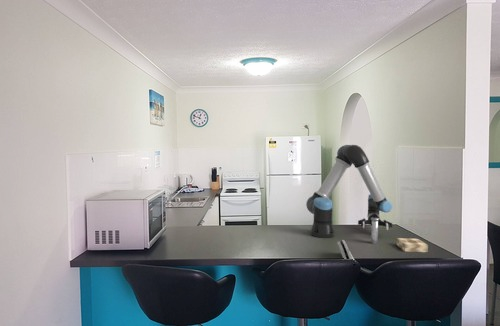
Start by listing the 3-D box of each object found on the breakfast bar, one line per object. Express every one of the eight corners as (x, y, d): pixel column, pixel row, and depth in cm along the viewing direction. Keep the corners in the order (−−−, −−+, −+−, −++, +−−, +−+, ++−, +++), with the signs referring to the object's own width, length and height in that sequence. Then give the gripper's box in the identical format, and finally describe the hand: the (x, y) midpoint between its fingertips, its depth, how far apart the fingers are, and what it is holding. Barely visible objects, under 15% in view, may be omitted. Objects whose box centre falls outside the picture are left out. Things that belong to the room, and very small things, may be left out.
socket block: (404, 251, 176) (405, 244, 176) (396, 244, 188) (396, 238, 188) (427, 252, 175) (427, 244, 175) (417, 245, 187) (418, 238, 187)
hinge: (356, 265, 155) (349, 245, 155) (347, 267, 156) (340, 248, 156) (350, 253, 172) (344, 236, 172) (341, 256, 172) (335, 238, 172)
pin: (371, 244, 189) (372, 218, 188) (369, 242, 194) (369, 217, 193) (379, 244, 189) (380, 219, 188) (377, 242, 193) (377, 217, 193)
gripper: (394, 226, 213) (397, 234, 193) (354, 223, 221) (353, 230, 201) (394, 215, 213) (398, 222, 193) (354, 212, 221) (354, 219, 201)
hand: (375, 226), depth 197 cm, fingers open, 13 cm apart
